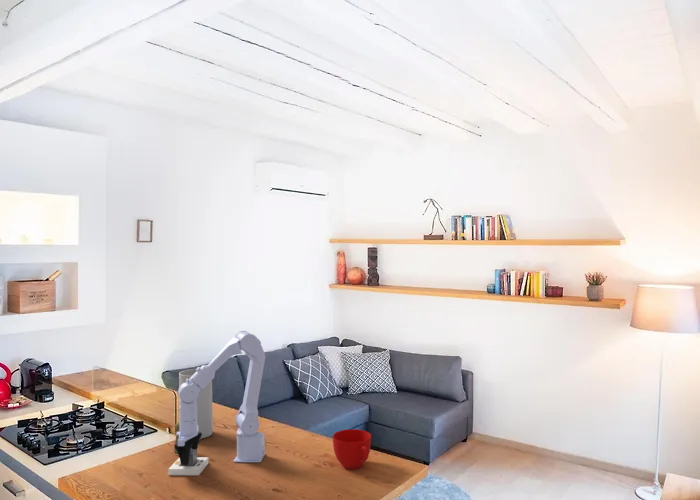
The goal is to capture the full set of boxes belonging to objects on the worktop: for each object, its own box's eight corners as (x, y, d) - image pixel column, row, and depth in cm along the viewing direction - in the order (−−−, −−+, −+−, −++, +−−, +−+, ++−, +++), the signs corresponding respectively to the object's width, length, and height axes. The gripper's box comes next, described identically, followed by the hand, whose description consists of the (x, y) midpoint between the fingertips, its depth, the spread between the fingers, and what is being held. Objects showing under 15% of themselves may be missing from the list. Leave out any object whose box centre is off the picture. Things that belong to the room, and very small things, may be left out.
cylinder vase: (219, 433, 215) (218, 370, 215) (195, 443, 204) (194, 377, 204) (197, 428, 221) (197, 367, 221) (173, 437, 211) (172, 373, 211)
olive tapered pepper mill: (186, 456, 191) (185, 425, 191) (170, 455, 192) (170, 424, 192) (194, 450, 197) (193, 420, 197) (179, 448, 198) (178, 419, 198)
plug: (197, 466, 182) (197, 446, 182) (193, 471, 178) (192, 451, 178) (185, 466, 182) (185, 446, 182) (181, 471, 178) (181, 451, 178)
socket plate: (208, 463, 185) (208, 456, 185) (198, 475, 175) (198, 468, 175) (179, 462, 185) (179, 456, 185) (168, 475, 175) (168, 468, 175)
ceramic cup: (349, 480, 169) (348, 449, 169) (326, 462, 184) (326, 433, 184) (384, 472, 175) (384, 441, 175) (359, 455, 190) (359, 426, 190)
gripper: (184, 412, 187) (184, 451, 187) (168, 426, 173) (168, 468, 173) (204, 412, 187) (204, 451, 187) (189, 426, 172) (190, 468, 172)
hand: (188, 460), depth 180 cm, fingers open, 7 cm apart
